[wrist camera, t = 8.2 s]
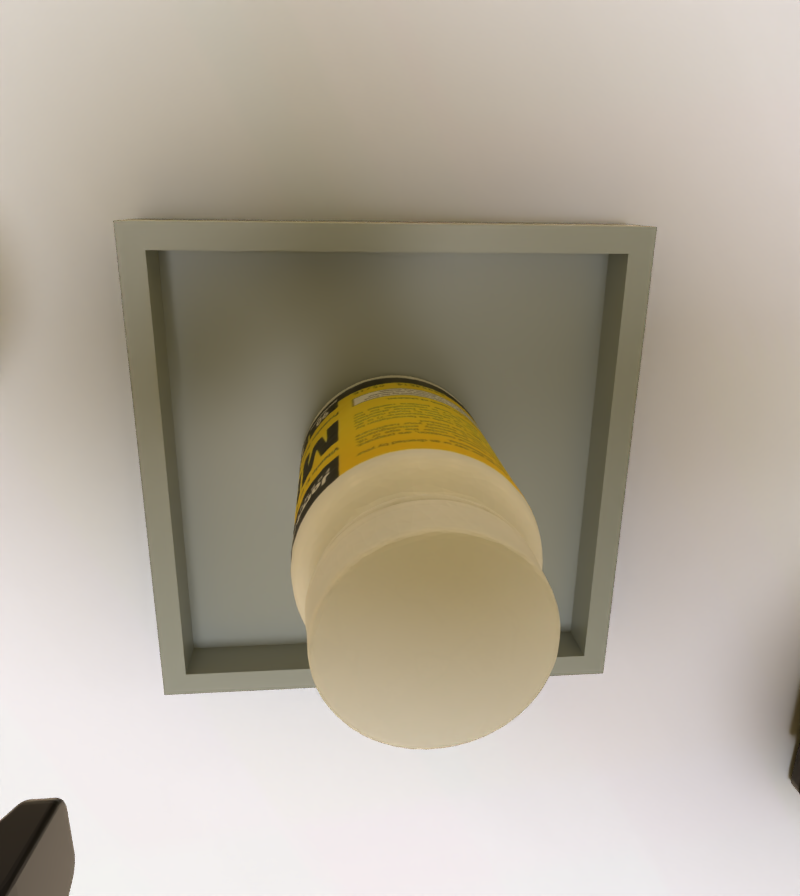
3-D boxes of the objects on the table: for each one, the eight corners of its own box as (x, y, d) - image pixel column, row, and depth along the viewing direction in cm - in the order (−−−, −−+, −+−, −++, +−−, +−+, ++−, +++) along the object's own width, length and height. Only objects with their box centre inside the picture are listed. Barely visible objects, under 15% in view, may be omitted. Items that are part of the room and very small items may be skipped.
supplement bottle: (304, 365, 18) (287, 494, 10) (490, 377, 19) (613, 507, 11) (296, 541, 20) (277, 772, 12) (469, 546, 20) (563, 771, 12)
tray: (625, 224, 18) (656, 227, 17) (581, 637, 22) (602, 673, 20) (134, 218, 17) (113, 220, 15) (177, 654, 21) (164, 694, 19)
